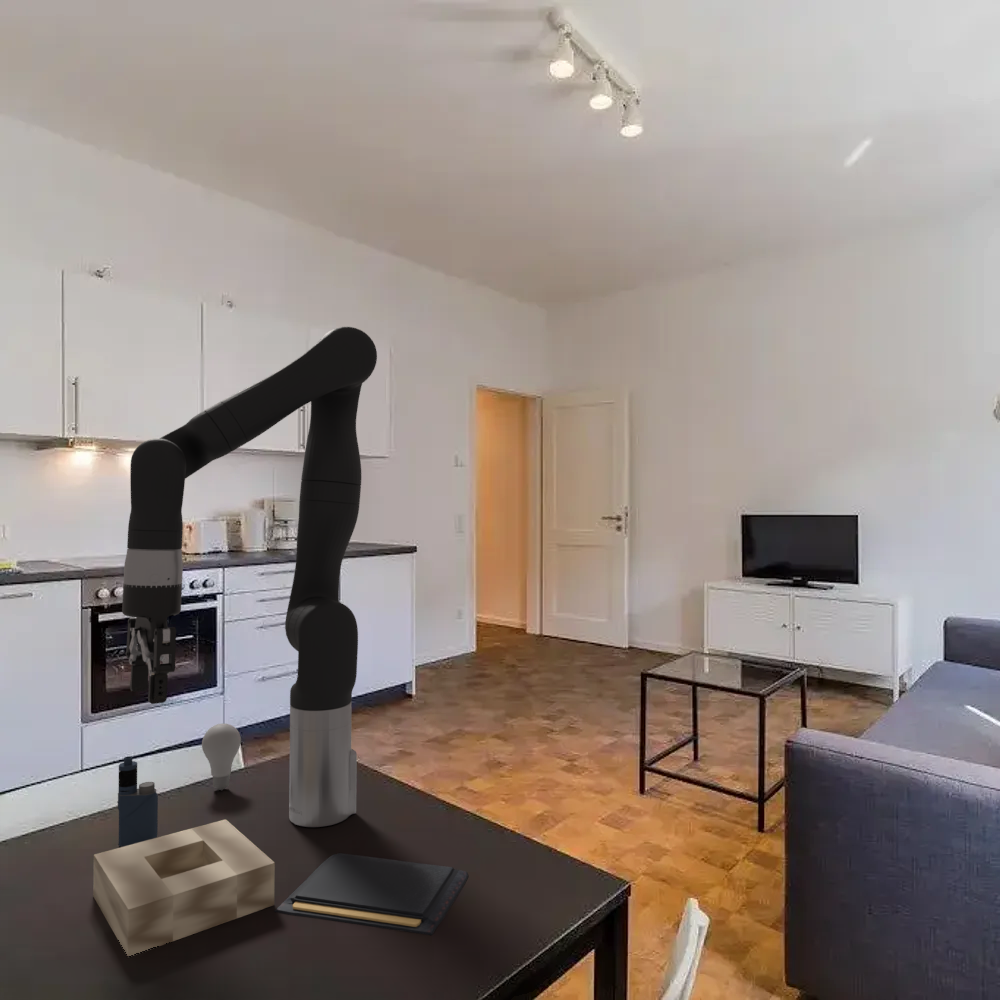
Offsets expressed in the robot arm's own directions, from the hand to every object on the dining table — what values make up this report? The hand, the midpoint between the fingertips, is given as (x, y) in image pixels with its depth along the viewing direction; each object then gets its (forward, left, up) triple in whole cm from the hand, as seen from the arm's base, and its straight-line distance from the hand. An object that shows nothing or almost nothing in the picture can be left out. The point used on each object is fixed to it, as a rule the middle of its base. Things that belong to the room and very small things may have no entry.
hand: (147, 696), depth 104 cm
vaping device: (+1, -1, -21) cm, 21 cm away
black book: (-18, +32, -22) cm, 42 cm away
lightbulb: (-15, -13, -21) cm, 29 cm away
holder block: (+1, +19, -21) cm, 28 cm away
